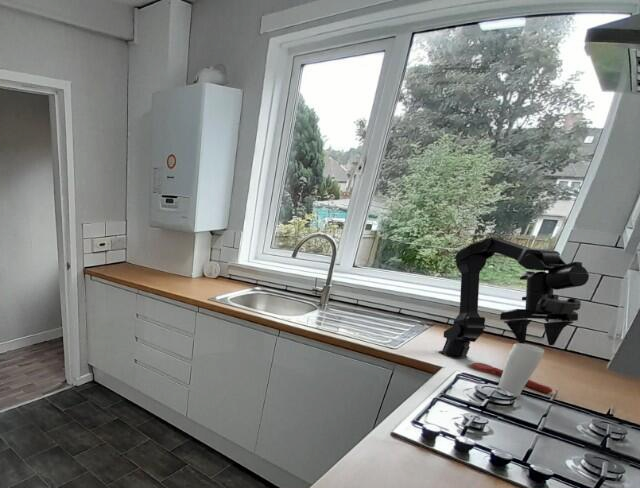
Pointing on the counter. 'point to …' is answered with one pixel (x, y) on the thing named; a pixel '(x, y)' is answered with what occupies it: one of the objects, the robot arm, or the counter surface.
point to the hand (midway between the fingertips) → (536, 344)
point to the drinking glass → (520, 367)
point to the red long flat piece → (499, 372)
